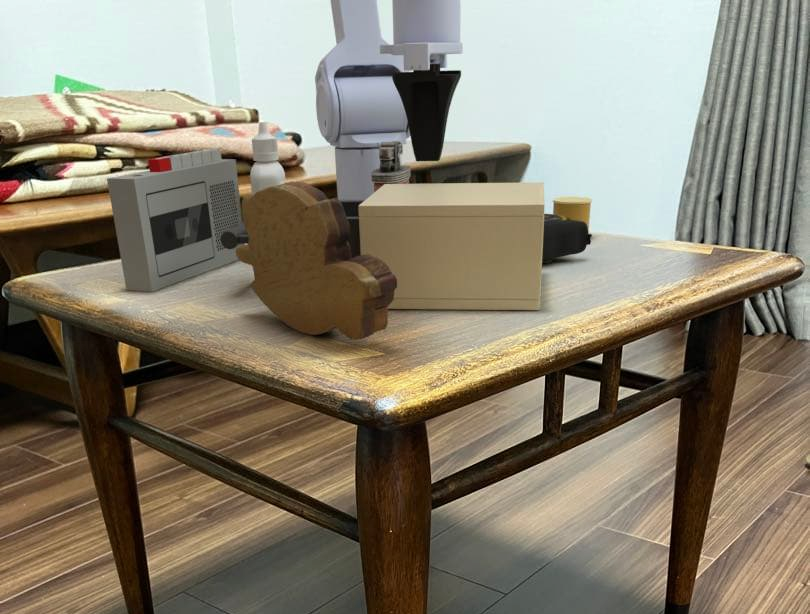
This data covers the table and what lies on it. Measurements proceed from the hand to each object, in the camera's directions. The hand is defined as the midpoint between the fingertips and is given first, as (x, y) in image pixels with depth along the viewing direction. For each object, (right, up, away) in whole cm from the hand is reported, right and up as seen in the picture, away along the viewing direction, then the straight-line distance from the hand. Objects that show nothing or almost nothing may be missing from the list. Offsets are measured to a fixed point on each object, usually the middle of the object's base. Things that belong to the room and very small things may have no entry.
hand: (428, 160), depth 79 cm
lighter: (-3, -5, +11) cm, 12 cm away
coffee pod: (+15, -2, +14) cm, 21 cm away
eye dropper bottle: (-15, -5, +11) cm, 19 cm away
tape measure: (+11, -8, +4) cm, 14 cm away
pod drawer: (-8, -12, -6) cm, 16 cm away
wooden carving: (-8, -19, -16) cm, 27 cm away
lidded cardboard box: (+2, -14, -6) cm, 15 cm away
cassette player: (-22, -9, +3) cm, 24 cm away
